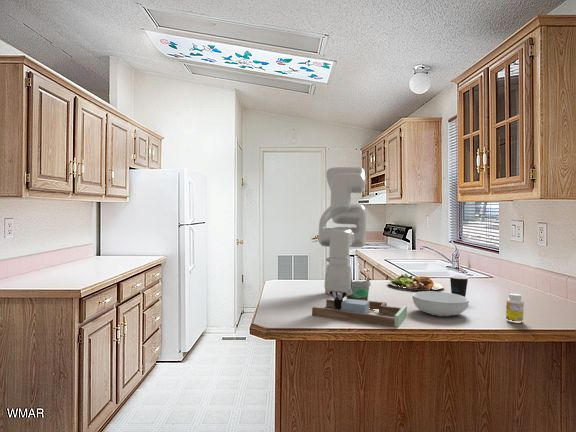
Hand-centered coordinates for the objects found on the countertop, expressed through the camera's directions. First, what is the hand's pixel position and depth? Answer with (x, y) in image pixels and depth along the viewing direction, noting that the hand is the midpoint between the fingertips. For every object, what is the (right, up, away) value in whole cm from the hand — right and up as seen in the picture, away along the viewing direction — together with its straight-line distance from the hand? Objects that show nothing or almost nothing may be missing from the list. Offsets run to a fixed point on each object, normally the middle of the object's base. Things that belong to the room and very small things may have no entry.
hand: (338, 308), depth 166 cm
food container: (+11, -2, +16) cm, 19 cm away
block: (+6, -2, -3) cm, 7 cm away
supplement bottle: (+64, -3, -9) cm, 64 cm away
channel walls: (+8, -2, -1) cm, 9 cm away
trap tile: (+13, -2, +5) cm, 14 cm away
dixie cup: (+56, -2, +24) cm, 61 cm away
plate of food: (+47, -1, +57) cm, 74 cm away
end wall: (+22, -2, -10) cm, 24 cm away
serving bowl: (+40, -3, +2) cm, 40 cm away
